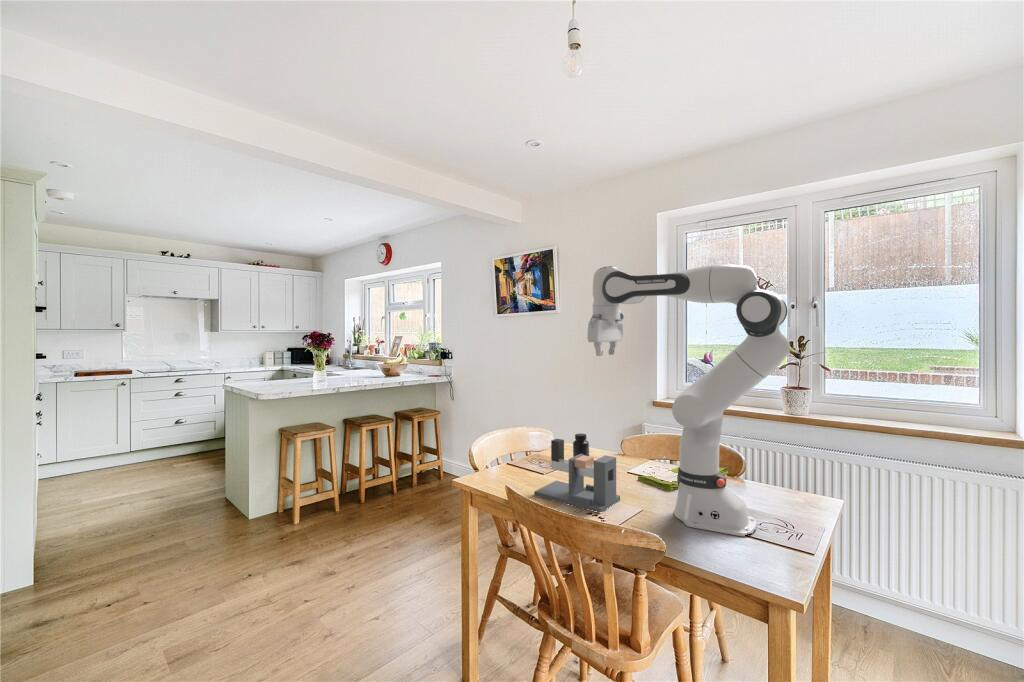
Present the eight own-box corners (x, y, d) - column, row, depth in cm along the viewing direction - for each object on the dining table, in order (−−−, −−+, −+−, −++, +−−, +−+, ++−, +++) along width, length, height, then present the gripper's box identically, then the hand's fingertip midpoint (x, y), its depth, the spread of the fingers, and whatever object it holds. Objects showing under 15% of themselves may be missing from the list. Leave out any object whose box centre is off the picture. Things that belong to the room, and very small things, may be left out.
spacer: (593, 464, 150) (593, 457, 150) (585, 468, 146) (585, 461, 146) (583, 462, 153) (583, 455, 153) (574, 466, 148) (574, 459, 148)
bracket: (620, 500, 149) (620, 455, 149) (600, 513, 138) (600, 465, 138) (556, 484, 165) (556, 443, 164) (534, 495, 153) (534, 452, 153)
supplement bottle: (583, 459, 197) (583, 432, 196) (592, 463, 190) (592, 435, 190) (570, 461, 194) (570, 433, 194) (577, 465, 188) (577, 437, 187)
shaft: (606, 477, 146) (606, 446, 146) (601, 480, 144) (601, 449, 143) (556, 466, 158) (556, 438, 158) (551, 469, 155) (551, 440, 155)
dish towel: (636, 481, 169) (636, 472, 169) (695, 465, 189) (695, 458, 189) (670, 493, 156) (670, 484, 156) (729, 475, 176) (729, 467, 176)
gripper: (600, 313, 143) (600, 357, 143) (626, 315, 159) (626, 354, 159) (582, 314, 147) (582, 356, 147) (610, 315, 163) (610, 353, 163)
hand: (605, 355), depth 153 cm, fingers open, 8 cm apart
